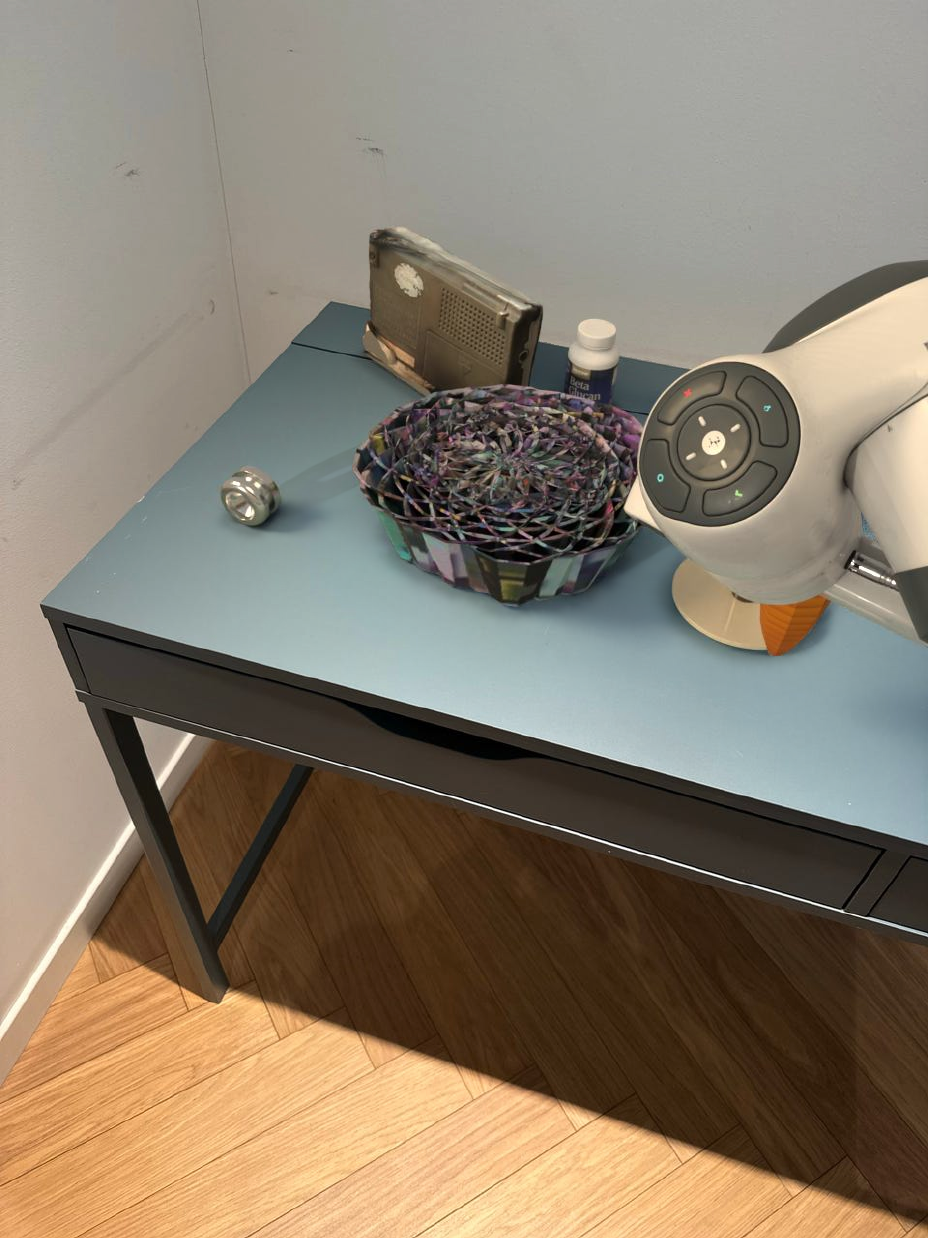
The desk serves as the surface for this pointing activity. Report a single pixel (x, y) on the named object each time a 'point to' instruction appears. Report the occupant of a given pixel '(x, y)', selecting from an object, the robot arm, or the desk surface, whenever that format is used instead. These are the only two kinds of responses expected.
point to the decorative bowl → (505, 488)
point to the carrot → (789, 623)
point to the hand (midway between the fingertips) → (807, 566)
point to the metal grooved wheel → (250, 495)
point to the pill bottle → (593, 362)
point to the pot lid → (716, 608)
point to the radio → (445, 318)
